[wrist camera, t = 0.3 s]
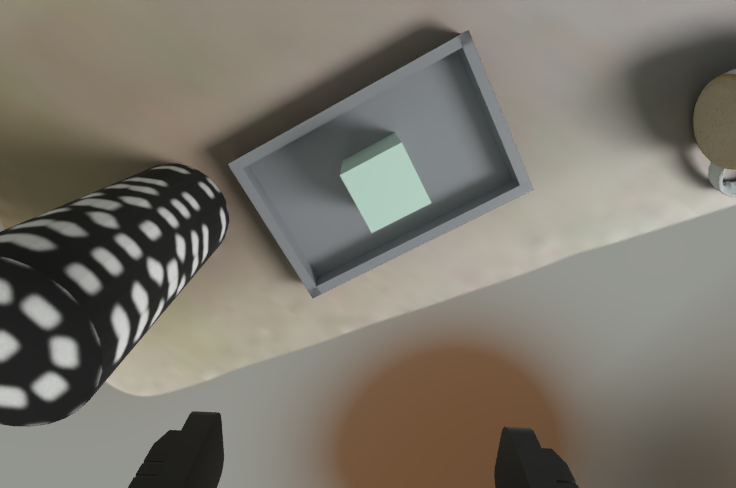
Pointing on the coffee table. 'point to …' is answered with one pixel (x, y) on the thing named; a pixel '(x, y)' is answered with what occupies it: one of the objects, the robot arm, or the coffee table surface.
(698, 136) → the ceramic mug
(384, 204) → the sage block
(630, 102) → the coffee table surface
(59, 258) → the white-spotted black cylinder
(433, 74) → the gray tray
